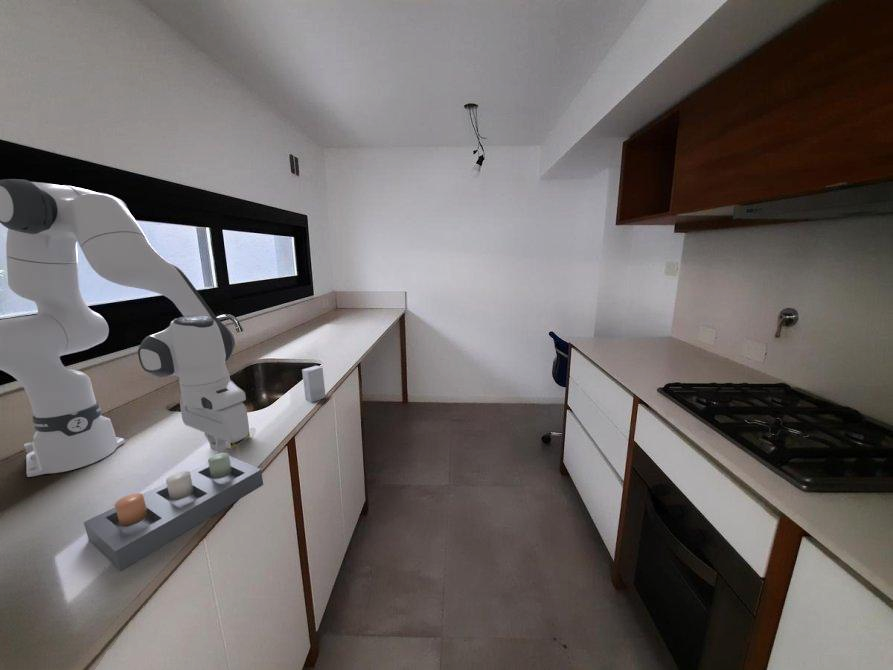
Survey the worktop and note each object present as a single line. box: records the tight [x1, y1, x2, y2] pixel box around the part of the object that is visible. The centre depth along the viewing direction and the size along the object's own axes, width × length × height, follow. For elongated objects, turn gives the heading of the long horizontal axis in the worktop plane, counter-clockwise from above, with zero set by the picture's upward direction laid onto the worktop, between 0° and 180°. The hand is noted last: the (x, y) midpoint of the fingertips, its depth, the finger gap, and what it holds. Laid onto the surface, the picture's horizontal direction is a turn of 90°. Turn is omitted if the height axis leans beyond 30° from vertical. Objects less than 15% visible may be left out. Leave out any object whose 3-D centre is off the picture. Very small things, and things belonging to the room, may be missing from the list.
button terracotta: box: [114, 492, 148, 527], centre depth 66 cm, size 4×4×4 cm
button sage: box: [207, 452, 232, 479], centre depth 80 cm, size 4×4×4 cm
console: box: [83, 455, 264, 572], centre depth 74 cm, size 14×26×4 cm, turn 151°
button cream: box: [165, 470, 194, 500], centre depth 73 cm, size 4×4×4 cm
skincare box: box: [301, 365, 327, 403], centre depth 130 cm, size 6×4×12 cm
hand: (218, 449), depth 79 cm, fingers closed
